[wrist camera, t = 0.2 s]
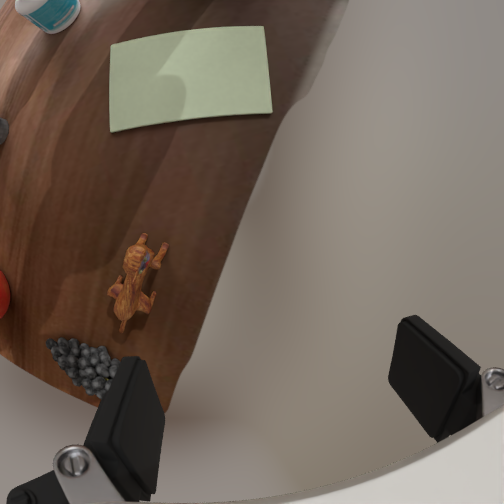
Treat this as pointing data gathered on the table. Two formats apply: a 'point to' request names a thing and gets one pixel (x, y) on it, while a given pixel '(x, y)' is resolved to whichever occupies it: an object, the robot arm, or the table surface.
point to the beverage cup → (3, 130)
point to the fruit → (85, 364)
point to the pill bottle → (49, 13)
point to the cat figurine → (135, 281)
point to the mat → (189, 76)
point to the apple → (4, 294)
